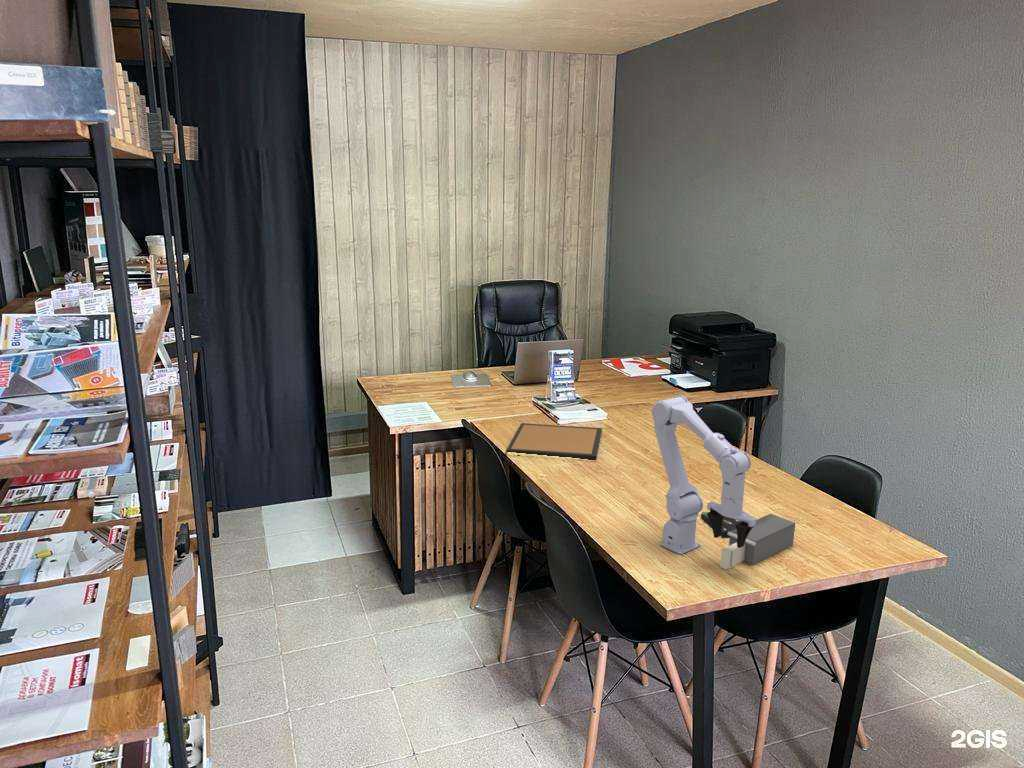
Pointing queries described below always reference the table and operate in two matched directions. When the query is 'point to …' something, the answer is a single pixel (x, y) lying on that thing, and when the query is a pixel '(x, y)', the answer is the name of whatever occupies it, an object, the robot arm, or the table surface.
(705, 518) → the disk drive
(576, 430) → the cork board
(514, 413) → the table surface
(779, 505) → the table surface
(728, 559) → the cream rectangular block
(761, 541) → the dispenser
